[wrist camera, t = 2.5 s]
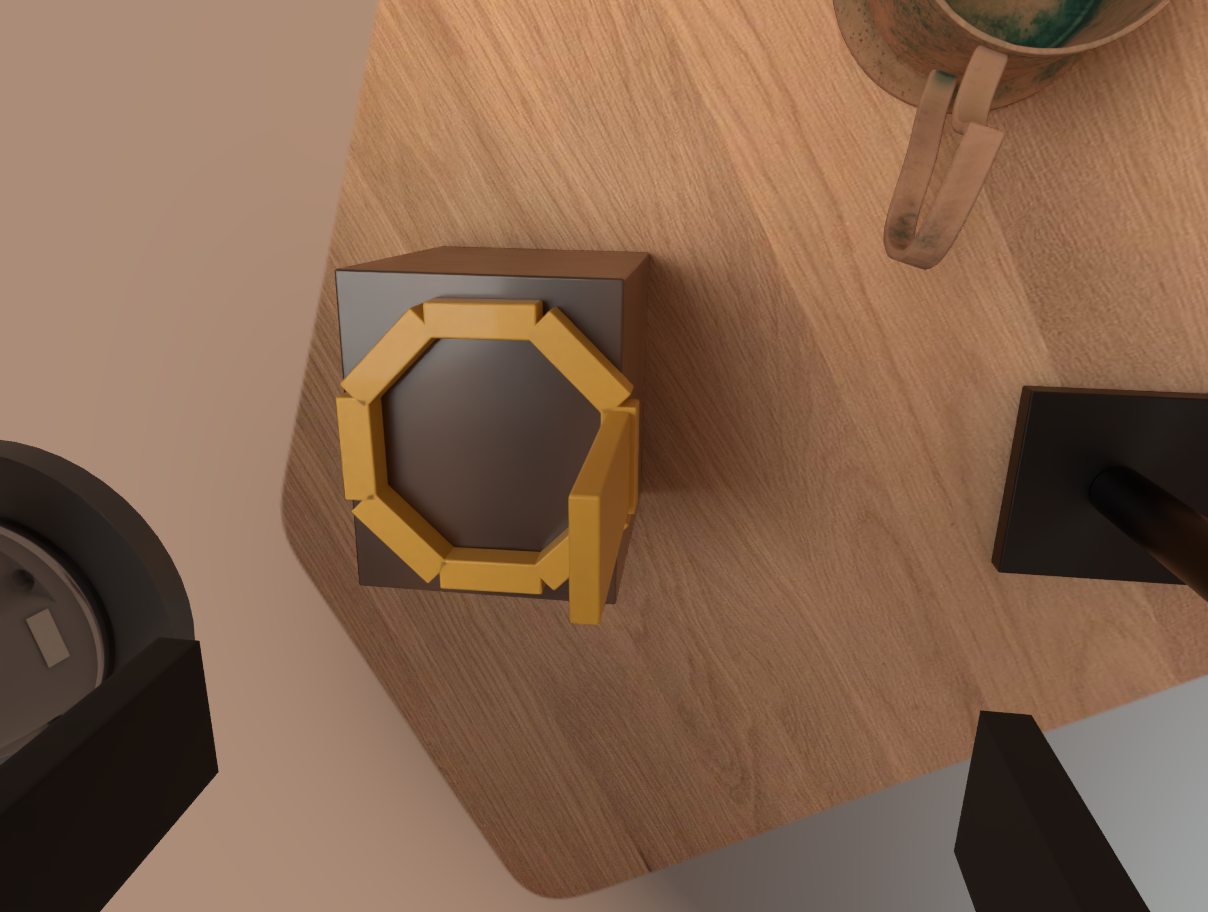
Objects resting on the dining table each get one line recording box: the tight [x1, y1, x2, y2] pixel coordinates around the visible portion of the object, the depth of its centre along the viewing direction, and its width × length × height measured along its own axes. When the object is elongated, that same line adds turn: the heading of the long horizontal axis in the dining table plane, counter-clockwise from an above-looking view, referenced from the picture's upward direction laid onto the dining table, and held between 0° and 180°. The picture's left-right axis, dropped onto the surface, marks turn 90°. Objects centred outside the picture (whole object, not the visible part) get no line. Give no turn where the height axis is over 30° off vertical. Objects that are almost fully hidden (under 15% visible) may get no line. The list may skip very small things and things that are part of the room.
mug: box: [833, 0, 1171, 270], centre depth 29 cm, size 12×18×12 cm, turn 163°
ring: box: [336, 298, 639, 625], centre depth 25 cm, size 10×10×9 cm
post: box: [991, 386, 1208, 602], centre depth 33 cm, size 9×9×13 cm
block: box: [335, 246, 649, 604], centre depth 35 cm, size 10×12×12 cm
